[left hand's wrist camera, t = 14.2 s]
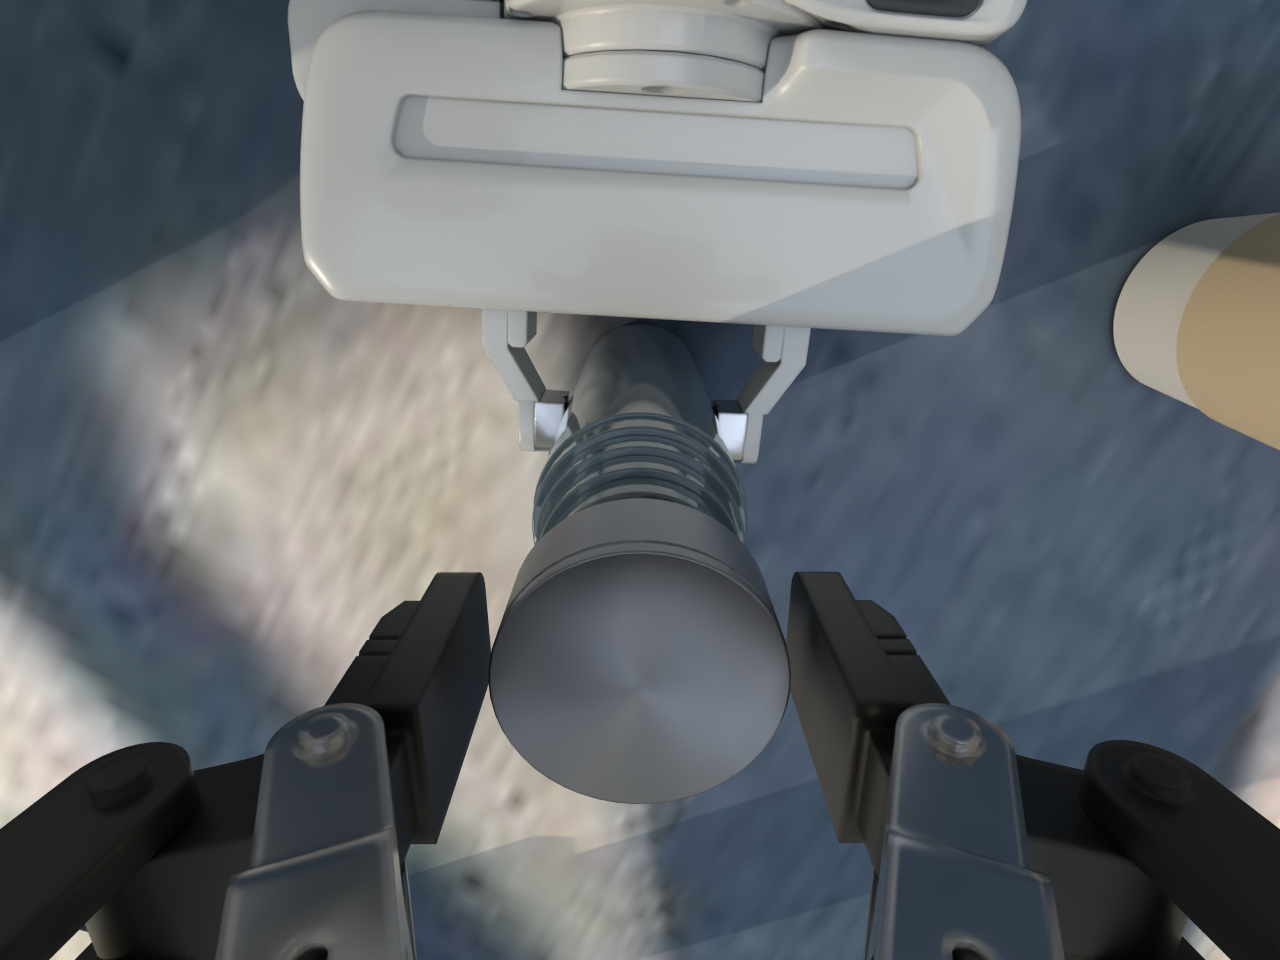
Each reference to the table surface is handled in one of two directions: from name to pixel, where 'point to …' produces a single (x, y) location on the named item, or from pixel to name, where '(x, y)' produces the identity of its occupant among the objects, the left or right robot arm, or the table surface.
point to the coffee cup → (1209, 321)
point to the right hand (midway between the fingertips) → (639, 452)
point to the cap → (639, 654)
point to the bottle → (639, 435)
